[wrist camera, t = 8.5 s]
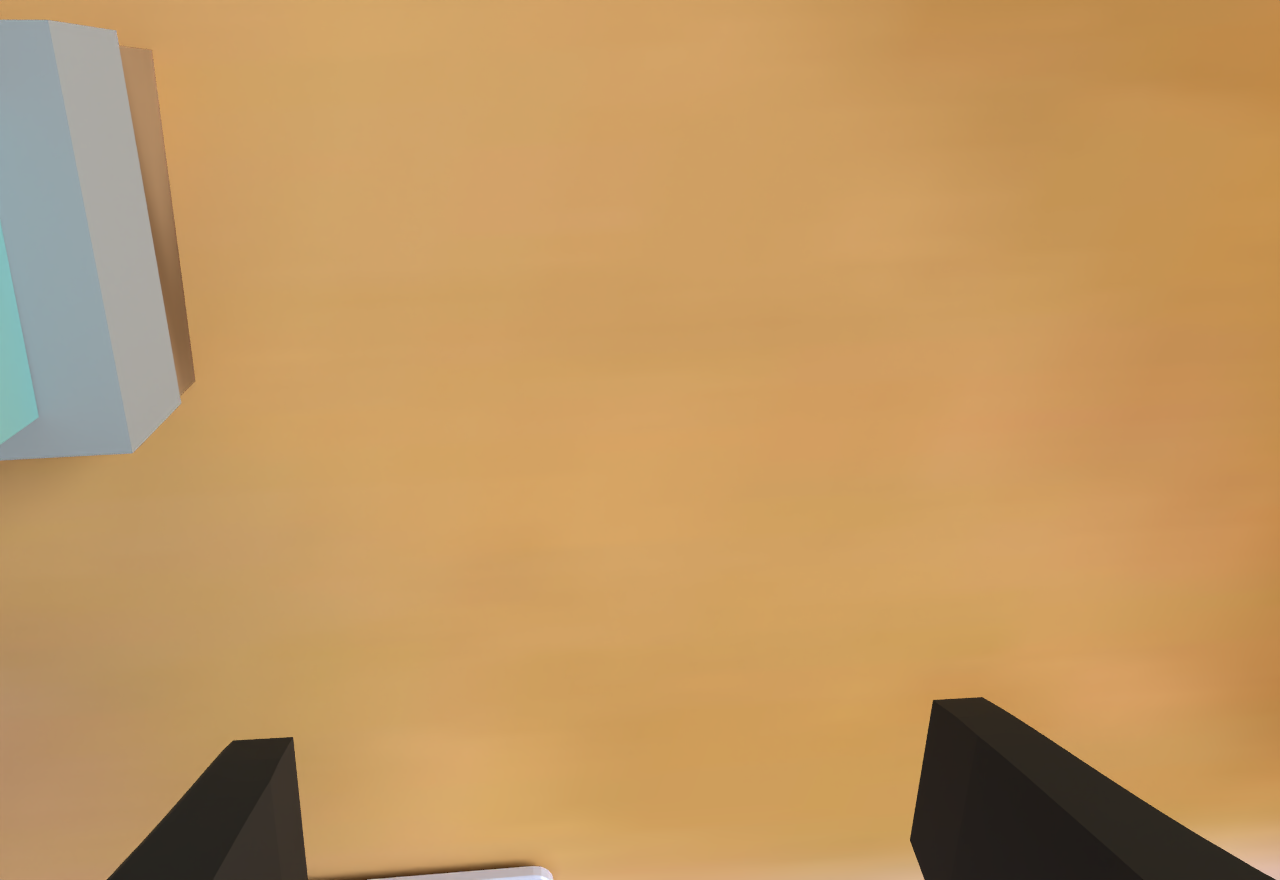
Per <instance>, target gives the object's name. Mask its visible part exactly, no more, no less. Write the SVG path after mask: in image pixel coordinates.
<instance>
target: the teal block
mask: <svg viewBox="0 0 1280 880" xmlns="http://www.w3.org/2000/svg"><path fill="white" fill-rule="evenodd" d="M38 417H39V415H38V410H37V405H36V400H35V395H34V389H33V384H32V379H31V374H30V369H29V364H28V359H27V354H26V349H25V344H24V338H23V333H22V328H21V323H20V318H19V313H18V308H17V303H16V298H15V293H14V288H13V282H12V277H11V272H10V267H9V262H8V257H7V252H6V247H5V242H4V237H3V231H2V226H1V221H0V445H1V444H2V443H3V442H5V441H6V440H8V439H9V438H10V437H12V436H13V435H15V434H16V433H17V432H19V431H20V430H22V429H23V428H24V427H26V426H27V425H29V424H30V423H31V422H33V421H34V420H35V419H37V418H38Z"/></svg>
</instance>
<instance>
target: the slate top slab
mask: <svg viewBox="0 0 1280 880" xmlns="http://www.w3.org/2000/svg"><path fill="white" fill-rule="evenodd" d="M0 221H1V226H2V231H3V237H4V242H5V247H6V252H7V257H8V262H9V267H10V272H11V277H12V282H13V288H14V293H15V298H16V303H17V308H18V313H19V318H20V323H21V328H22V333H23V338H24V344H25V349H26V354H27V359H28V364H29V369H30V374H31V379H32V384H33V389H34V395H35V400H36V405H37V410H38V415H39V417H38V418H37V419H35V420H34V421H33V422H31V423H30V424H29V425H27V426H26V427H24V428H23V429H22V430H20V431H19V432H17V433H16V434H15V435H13V436H12V437H10V438H9V439H8V440H6V441H5V442H3V443H2V444H1V445H0V460H16V459H34V458H53V457H72V456H90V455H109V454H127V453H133V452H134V451H135V450H136V449H137V448H138V447H139V446H140V445H141V444H142V443H143V442H144V441H145V440H146V439H147V438H148V437H149V436H150V435H151V434H152V433H153V432H154V431H155V430H156V429H157V428H158V427H159V426H160V425H161V424H162V423H163V422H164V421H165V419H166V418H167V417H168V416H169V415H170V414H171V413H172V412H173V411H174V410H175V409H176V408H177V407H178V406H179V405H180V404H181V399H180V393H179V388H178V382H177V376H176V370H175V365H174V359H173V353H172V347H171V342H170V336H169V330H168V324H167V319H166V313H165V307H164V302H163V296H162V290H161V284H160V279H159V273H158V267H157V261H156V256H155V250H154V244H153V238H152V233H151V227H150V221H149V215H148V210H147V204H146V198H145V193H144V187H143V181H142V175H141V170H140V164H139V158H138V152H137V147H136V141H135V135H134V129H133V124H132V118H131V112H130V106H129V101H128V95H127V89H126V83H125V78H124V72H123V66H122V61H121V55H120V49H119V43H118V38H117V32H116V31H115V30H109V29H103V28H96V27H90V26H83V25H77V24H71V23H64V22H58V21H51V20H0Z"/></svg>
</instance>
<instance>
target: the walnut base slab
mask: <svg viewBox="0 0 1280 880" xmlns="http://www.w3.org/2000/svg"><path fill="white" fill-rule="evenodd" d="M119 49H120V55H121V61H122V66H123V72H124V78H125V83H126V89H127V95H128V101H129V106H130V112H131V118H132V124H133V129H134V135H135V141H136V147H137V152H138V158H139V164H140V170H141V175H142V181H143V187H144V193H145V198H146V204H147V210H148V215H149V221H150V227H151V233H152V238H153V244H154V250H155V256H156V261H157V267H158V273H159V279H160V284H161V290H162V296H163V302H164V307H165V313H166V319H167V324H168V330H169V336H170V342H171V347H172V353H173V359H174V365H175V370H176V376H177V382H178V388H179V393H180V396H181V395H182V394H183V393H184V392H185V391H186V390H187V389H188V388H189V387H190V386H191V385H192V384H193V383H194V382H195V375H194V367H193V359H192V352H191V344H190V337H189V329H188V321H187V314H186V306H185V298H184V291H183V283H182V275H181V268H180V260H179V253H178V245H177V237H176V230H175V222H174V214H173V207H172V199H171V191H170V184H169V176H168V169H167V161H166V153H165V146H164V138H163V130H162V123H161V115H160V107H159V100H158V92H157V85H156V77H155V69H154V62H153V54H152V50H148V49H141V48H133V47H126V46H119Z"/></svg>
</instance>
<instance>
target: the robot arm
mask: <svg viewBox="0 0 1280 880" xmlns="http://www.w3.org/2000/svg"><path fill="white" fill-rule="evenodd" d="M910 841H911V844H912V847H913V850H914V852H915V855H916V858H917V860H918V863H919V866H920V868H921V871H922V874H923V877H924V879H925V880H1275V879H1274V878H1272V877H1270V876H1268V875H1266V874H1264V873H1263V872H1261V871H1259V870H1257V869H1256V868H1254V867H1252V866H1250V865H1249V864H1247V863H1245V862H1244V861H1242V860H1240V859H1238V858H1237V857H1235V856H1233V855H1232V854H1230V853H1228V852H1227V851H1225V850H1223V849H1221V848H1220V847H1218V846H1216V845H1215V844H1213V843H1211V842H1209V841H1208V840H1206V839H1204V838H1203V837H1201V836H1199V835H1198V834H1196V833H1194V832H1193V831H1191V830H1189V829H1188V828H1186V827H1184V826H1183V825H1181V824H1180V823H1178V822H1176V821H1175V820H1173V819H1172V818H1170V817H1168V816H1167V815H1165V814H1163V813H1162V812H1160V811H1159V810H1157V809H1156V808H1154V807H1152V806H1151V805H1149V804H1148V803H1146V802H1144V801H1143V800H1141V799H1140V798H1138V797H1137V796H1135V795H1134V794H1132V793H1130V792H1129V791H1127V790H1126V789H1124V788H1123V787H1121V786H1120V785H1118V784H1117V783H1115V782H1113V781H1112V780H1110V779H1109V778H1107V777H1106V776H1104V775H1103V774H1101V773H1100V772H1098V771H1097V770H1095V769H1094V768H1092V767H1091V766H1089V765H1088V764H1086V763H1085V762H1083V761H1082V760H1080V759H1079V758H1077V757H1076V756H1074V755H1073V754H1071V753H1070V752H1068V751H1066V750H1065V749H1063V748H1062V747H1060V746H1059V745H1057V744H1056V743H1054V742H1053V741H1051V740H1050V739H1048V738H1047V737H1045V736H1044V735H1042V734H1041V733H1039V732H1038V731H1036V730H1035V729H1033V728H1032V727H1030V726H1028V725H1027V724H1025V723H1024V722H1022V721H1021V720H1019V719H1018V718H1016V717H1014V716H1013V715H1011V714H1010V713H1008V712H1006V711H1005V710H1003V709H1002V708H1000V707H998V706H996V705H995V704H993V703H991V702H990V701H988V700H986V699H984V698H982V697H979V698H962V699H944V700H933V704H932V710H931V716H930V722H929V728H928V734H927V740H926V746H925V752H924V758H923V765H922V771H921V777H920V783H919V789H918V795H917V801H916V807H915V813H914V819H913V825H912V831H911V837H910ZM107 880H308V877H307V867H306V858H305V848H304V838H303V829H302V819H301V810H300V800H299V790H298V781H297V771H296V761H295V752H294V742H293V737H287V738H270V739H253V740H236V741H232V742H231V743H230V744H229V745H228V746H227V747H226V748H225V749H224V750H223V751H222V752H221V753H220V754H219V755H218V757H217V758H216V759H215V760H214V761H213V762H212V763H211V765H210V766H209V767H208V768H207V769H206V770H205V771H204V773H203V774H202V775H201V776H200V777H199V778H198V780H197V781H196V782H195V783H194V784H193V785H192V786H191V788H190V789H189V790H188V791H187V792H186V793H185V794H184V796H183V797H182V798H181V799H180V800H179V801H178V802H177V804H176V805H175V806H174V807H173V808H172V809H171V810H170V812H169V813H168V814H167V815H166V816H165V817H164V818H163V819H162V821H161V822H160V823H159V824H158V825H157V826H156V827H155V828H154V829H153V831H152V832H151V833H150V834H149V835H148V836H147V837H146V838H145V839H144V841H143V842H142V843H141V844H140V845H139V846H138V847H137V848H136V849H135V850H134V851H133V852H132V853H131V854H130V856H129V857H128V858H127V859H126V860H125V861H124V862H123V863H122V864H121V865H120V866H119V867H118V868H117V869H116V871H115V872H114V873H113V874H112V875H111V876H110V877H109V878H108V879H107ZM369 880H553V876H552V874H551V873H550V872H549V871H548V870H547V869H545V868H543V867H540V866H527V867H514V868H502V869H490V870H478V871H466V872H454V873H442V874H429V875H417V876H405V877H393V878H381V879H369Z"/></svg>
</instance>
